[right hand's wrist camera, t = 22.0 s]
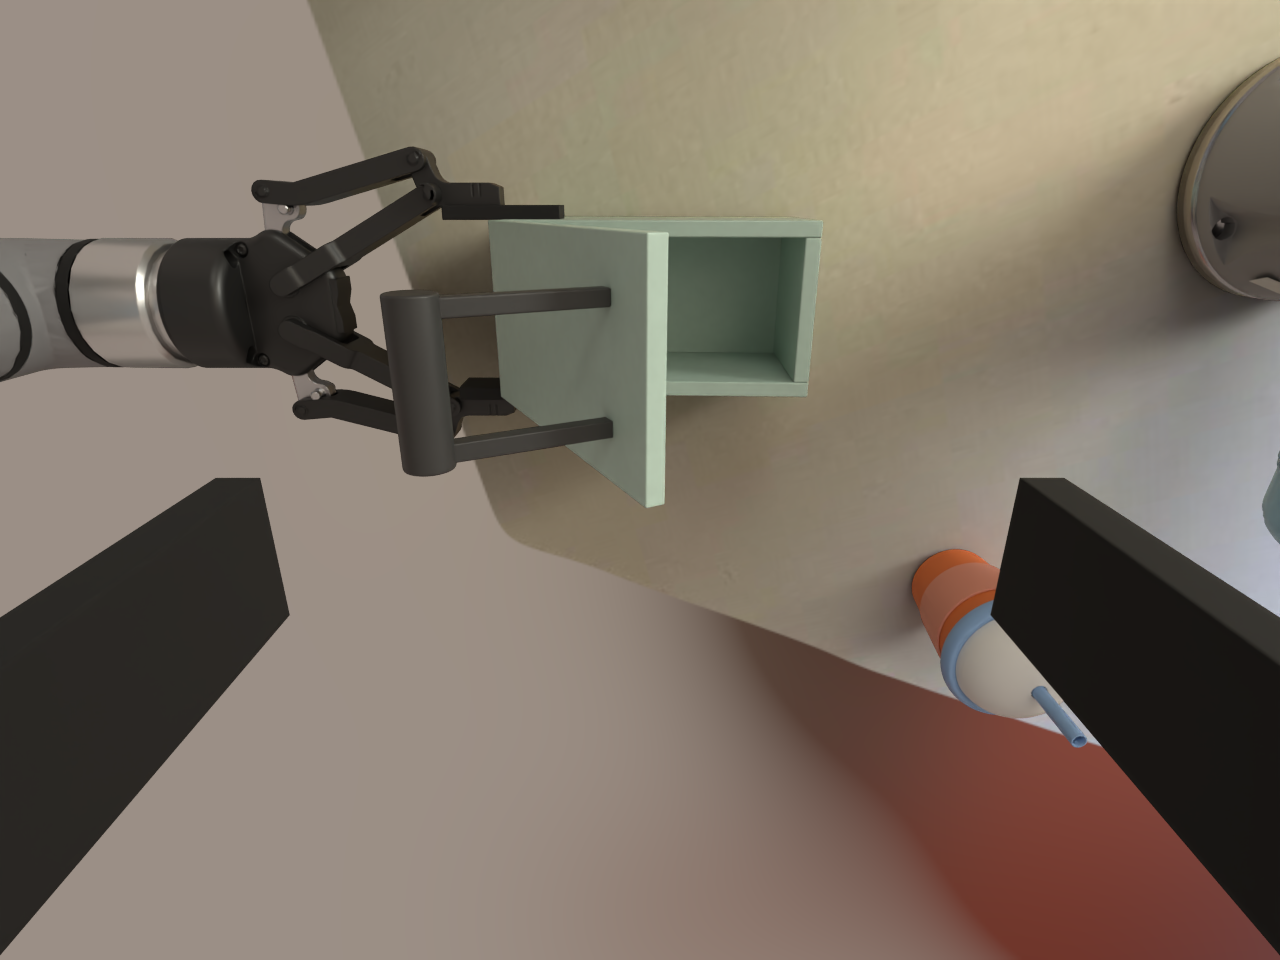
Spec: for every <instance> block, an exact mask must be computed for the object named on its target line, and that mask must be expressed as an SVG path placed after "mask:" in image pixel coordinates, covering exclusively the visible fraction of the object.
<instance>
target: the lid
mask: <svg viewBox="0 0 1280 960" xmlns="http://www.w3.org/2000/svg"><path fill="white" fill-rule="evenodd" d="M488 226H489V240H490V253H491V267H492V280H493V292H484V293H466V294H448V295H439V293H438V292H436V291H431V290H399V291H390V292H385V293H382V294H381V295H380V302H381V309H382V317H383V324H384V332H385V339H386V347H387V354H388V362H389V369H390V377H391V384H392V392H393V399H394V407H395V414H396V422H397V429H398V437H399V445H400V452H401V460H402V467H403V470H404V472H405V473H407V474H409V475H413V476H435V475H440V474H444V473H447V472H449V471H451V470H453V469H454V468H455V467H456V463H457V462H463V461H470V460H476V459H482V458H489V457H495V456H501V455H507V454H514V453H520V452H526V451H533V450H539V449H545V448H551V447H558V446H564V445H565V446H566V447H567V448H569V449H570V450H571V451H572V452H574V453H575V454H576V455H578V456H579V457H580V458H581V459H583V460H584V461H585V462H587V463H588V464H589V465H591V466H592V467H593V468H594V469H596V470H597V471H598V472H600V473H601V474H602V475H603V476H605V477H606V478H607V479H609V480H610V481H611V482H613V483H614V484H615V485H616V486H618V487H619V488H620V489H622V490H623V491H624V492H625V493H627V494H628V495H629V496H631V497H632V498H633V499H635V500H636V501H637V502H638V503H640V504H641V505H642V506H644V507H645V508H649V507H654V506H659V505H663V504H664V495H665V431H666V366H667V302H668V237H669V234H668V233H667V232H659V231H645V230H632V229H618V228H604V227H591V226H577V225H563V224H550V223H536V222H522V221H509V220H488ZM491 315H495V321H496V334H497V348H498V361H499V375H500V388H501V397H503V398H504V399H505V400H506V401H508V402H509V403H510V404H512V405H513V406H514V407H515V408H517V409H518V410H519V411H521V412H522V413H523V414H525V415H526V416H527V417H528V418H530V419H531V420H532V421H534V422H535V423H536V424H537V425H539V426H538V427H531V428H524V429H517V430H510V431H503V432H496V433H489V434H483V435H476V436H469V437H462V438H455V439H454V435H453V425H452V415H451V405H450V396H449V386H448V376H447V366H446V357H445V347H444V337H443V327H442V319H448V318H462V317H477V316H491Z"/></svg>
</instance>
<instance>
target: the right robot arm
mask: <svg viewBox="0 0 1280 960" xmlns="http://www.w3.org/2000/svg"><path fill="white" fill-rule="evenodd" d="M1177 221H1178V229H1179V235H1180V239H1181V242H1182V245H1183V248H1184V250H1185V253H1186V255H1187V257H1188V258H1189V260H1190V262H1191V264H1192V265H1193V266H1194V267H1195V269H1196V270H1197V271H1198V272H1199V273H1200V274H1201V275H1202V276H1203V277H1204V278H1205V279H1206V280H1207V281H1209V282H1210V283H1211V284H1213V285H1214V286H1216V287H1218V288H1220V289H1222V290H1224V291H1226V292H1229V293H1232V294H1236V295H1239V296H1245V297H1251V298H1258V299H1264V300H1274V301H1280V58H1278V59H1277V60H1275V61H1273V62H1271V63H1269V64H1268V65H1266V66H1265V67H1263V68H1262V69H1260V70H1259V71H1257V72H1256V73H1254V74H1253V75H1252V76H1251V77H1249V78H1248V79H1247V80H1245V81H1244V82H1243V83H1242V84H1241V85H1240V86H1239V87H1238V88H1236V89H1235V90H1234V91H1233V92H1232V93H1231V94H1230V95H1229V96H1228V97H1227V99H1226V100H1225V101H1224V102H1223V103H1222V104H1221V105H1220V106H1219V108H1218V109H1217V110H1216V111H1215V113H1214V114H1213V115H1212V117H1211V118H1210V119H1209V121H1208V122H1207V124H1206V125H1205V127H1204V128H1203V130H1202V132H1201V133H1200V135H1199V137H1198V138H1197V140H1196V142H1195V144H1194V146H1193V148H1192V150H1191V153H1190V155H1189V157H1188V160H1187V162H1186V165H1185V168H1184V171H1183V175H1182V178H1181V183H1180V187H1179V194H1178V201H1177ZM1278 457H1279V458H1278V461H1277V470H1276V472H1275V474H1274V476H1273V478H1272V481H1271V483H1270V485H1269V487H1268V490H1267V492H1266V494H1265V496H1264V499H1263V504H1262V508H1263V517H1264V520H1265V525H1266V527H1267V529H1268V530H1269V532H1270V533H1271V534H1272V536H1273V537H1274V538H1275V540H1276V541H1277V542H1278V543H1279V544H1280V452H1279V454H1278ZM990 615H991V616H992V618H993V619H994V620H995V621H996V622H997V623H998V625H999V626H1000V627H1001V628H1002V629H1003V630H1004V632H1005V633H1006V634H1007V635H1008V636H1009V637H1010V639H1011V640H1012V641H1013V642H1014V643H1015V645H1016V646H1017V647H1018V648H1019V649H1020V650H1021V652H1022V653H1023V654H1024V655H1025V656H1026V657H1027V659H1028V660H1029V661H1030V662H1031V663H1032V665H1033V666H1034V667H1035V668H1036V669H1037V670H1038V672H1039V673H1040V674H1041V675H1042V676H1043V677H1044V679H1045V680H1046V681H1047V682H1048V683H1049V684H1050V686H1051V687H1052V688H1053V689H1054V690H1055V692H1056V693H1057V694H1058V695H1059V696H1060V697H1061V699H1062V700H1063V701H1064V702H1065V703H1066V704H1067V706H1068V707H1069V708H1070V709H1071V710H1072V712H1073V713H1074V714H1075V715H1076V716H1077V717H1078V719H1079V720H1080V721H1081V722H1082V723H1083V724H1084V726H1085V727H1086V728H1087V729H1088V730H1089V731H1090V733H1091V734H1092V735H1093V736H1094V737H1095V739H1096V740H1097V741H1098V742H1099V743H1100V744H1101V746H1102V747H1103V748H1104V749H1105V750H1106V751H1107V753H1108V754H1109V755H1110V756H1111V757H1112V758H1113V760H1114V761H1115V762H1116V763H1117V764H1118V766H1119V767H1120V768H1121V769H1122V770H1123V771H1124V773H1125V774H1126V775H1127V776H1128V777H1129V778H1130V780H1131V781H1132V782H1133V783H1134V784H1135V785H1136V787H1137V788H1138V789H1139V790H1140V791H1141V793H1142V794H1143V795H1144V796H1145V797H1146V798H1147V800H1148V801H1149V802H1150V803H1151V804H1152V806H1153V807H1154V808H1155V809H1156V810H1157V811H1158V813H1159V814H1160V815H1161V816H1162V817H1163V818H1164V820H1165V821H1166V822H1167V823H1168V824H1169V825H1170V827H1171V828H1172V829H1173V830H1174V831H1175V833H1176V834H1177V835H1178V836H1179V837H1180V838H1181V840H1182V841H1183V842H1184V843H1185V844H1186V845H1187V847H1188V848H1189V849H1190V850H1191V851H1192V853H1193V854H1194V855H1195V856H1196V857H1197V858H1198V860H1199V861H1200V862H1201V863H1202V864H1203V865H1204V867H1205V868H1206V869H1207V870H1208V871H1209V873H1210V874H1211V875H1212V876H1213V877H1214V878H1215V879H1216V881H1217V882H1218V883H1219V884H1220V885H1221V887H1222V888H1223V889H1224V890H1225V891H1226V892H1227V894H1228V895H1229V896H1230V897H1231V898H1232V900H1233V901H1234V902H1235V903H1236V904H1237V905H1238V907H1239V908H1240V909H1241V910H1242V911H1243V912H1244V914H1245V915H1246V916H1247V917H1248V918H1249V920H1250V921H1251V922H1252V923H1253V924H1254V925H1255V927H1256V928H1257V929H1258V930H1259V931H1260V932H1261V934H1262V935H1263V936H1264V937H1265V938H1266V939H1267V941H1268V942H1269V943H1270V944H1271V945H1272V947H1273V948H1274V949H1275V950H1276V951H1277V952H1278V954H1279V955H1280V617H1278V616H1277V615H1275V614H1273V613H1272V612H1270V611H1269V610H1267V609H1266V608H1264V607H1263V606H1261V605H1260V604H1258V603H1257V602H1255V601H1253V600H1252V599H1250V598H1249V597H1247V596H1246V595H1244V594H1243V593H1241V592H1240V591H1238V590H1236V589H1235V588H1233V587H1232V586H1230V585H1229V584H1227V583H1226V582H1224V581H1223V580H1221V579H1219V578H1218V577H1216V576H1215V575H1213V574H1212V573H1210V572H1209V571H1207V570H1206V569H1204V568H1202V567H1201V566H1199V565H1198V564H1196V563H1195V562H1193V561H1192V560H1190V559H1189V558H1187V557H1185V556H1184V555H1182V554H1181V553H1179V552H1178V551H1176V550H1175V549H1173V548H1172V547H1170V546H1168V545H1167V544H1165V543H1164V542H1162V541H1161V540H1159V539H1158V538H1156V537H1155V536H1153V535H1151V534H1150V533H1148V532H1147V531H1145V530H1144V529H1142V528H1141V527H1139V526H1138V525H1136V524H1135V523H1133V522H1131V521H1130V520H1128V519H1127V518H1125V517H1124V516H1122V515H1121V514H1119V513H1118V512H1116V511H1114V510H1113V509H1111V508H1110V507H1108V506H1107V505H1105V504H1104V503H1102V502H1101V501H1099V500H1097V499H1096V498H1094V497H1093V496H1091V495H1090V494H1088V493H1087V492H1085V491H1084V490H1082V489H1080V488H1079V487H1077V486H1076V485H1074V484H1073V483H1071V482H1070V481H1068V480H1067V479H1065V478H1020V480H1019V485H1018V489H1017V494H1016V498H1015V503H1014V508H1013V512H1012V517H1011V522H1010V526H1009V531H1008V536H1007V540H1006V545H1005V550H1004V554H1003V559H1002V563H1001V568H1000V573H999V577H998V582H997V587H996V591H995V596H994V601H993V605H992V610H991V614H990ZM288 616H289V610H288V605H287V601H286V596H285V591H284V587H283V582H282V577H281V573H280V568H279V563H278V559H277V554H276V550H275V545H274V540H273V536H272V531H271V526H270V522H269V517H268V513H267V508H266V503H265V498H264V494H263V489H262V485H261V480H260V478H215V479H213V480H212V481H210V482H209V483H207V484H206V485H204V486H203V487H201V488H200V489H198V490H197V491H195V492H193V493H192V494H190V495H189V496H187V497H186V498H184V499H183V500H181V501H179V502H178V503H176V504H175V505H173V506H172V507H170V508H169V509H167V510H166V511H164V512H162V513H161V514H159V515H158V516H156V517H155V518H153V519H152V520H150V521H149V522H147V523H146V524H144V525H142V526H141V527H139V528H138V529H136V530H135V531H133V532H132V533H130V534H129V535H127V536H126V537H124V538H122V539H121V540H119V541H118V542H116V543H115V544H113V545H112V546H110V547H109V548H107V549H105V550H104V551H102V552H101V553H99V554H98V555H96V556H95V557H93V558H92V559H90V560H88V561H87V562H85V563H84V564H82V565H81V566H79V567H78V568H76V569H75V570H73V571H71V572H70V573H68V574H67V575H65V576H64V577H62V578H61V579H59V580H57V581H56V582H54V583H53V584H51V585H50V586H48V587H47V588H45V589H44V590H42V591H41V592H39V593H37V594H36V595H34V596H33V597H31V598H30V599H28V600H27V601H25V602H23V603H22V604H20V605H19V606H17V607H16V608H14V609H13V610H11V611H10V612H8V613H7V614H5V615H3V616H2V617H0V955H1V954H2V952H3V951H4V950H5V949H6V948H7V947H8V945H9V944H10V943H11V942H12V941H13V939H14V938H15V937H16V936H17V935H18V934H19V932H20V931H21V930H22V929H23V928H24V927H25V925H26V924H27V923H28V922H29V921H30V920H31V918H32V917H33V916H34V915H35V914H36V912H37V911H38V910H39V909H40V908H41V907H42V905H43V904H44V903H45V902H46V901H47V900H48V898H49V897H50V896H51V895H52V894H53V892H54V891H55V890H56V889H57V888H58V887H59V885H60V884H61V883H62V882H63V881H64V879H65V878H66V877H67V876H68V875H69V874H70V872H71V871H72V870H73V869H74V868H75V867H76V865H77V864H78V863H79V862H80V861H81V860H82V858H83V857H84V856H85V855H86V854H87V853H88V851H89V850H90V849H91V848H92V847H93V845H94V844H95V843H96V842H97V841H98V840H99V838H100V837H101V836H102V835H103V834H104V833H105V831H106V830H107V829H108V828H109V827H110V826H111V824H112V823H113V822H114V821H115V820H116V818H117V817H118V816H119V815H120V814H121V813H122V811H123V810H124V809H125V808H126V807H127V805H128V804H129V803H130V802H131V801H132V800H133V798H134V797H135V796H136V795H137V794H138V793H139V791H140V790H141V789H142V788H143V787H144V786H145V784H146V783H147V782H148V781H149V780H150V778H151V777H152V776H153V775H154V774H155V773H156V771H157V770H158V769H159V768H160V767H161V766H162V764H163V763H164V762H165V761H166V760H167V759H168V757H169V756H170V755H171V754H172V753H173V751H174V750H175V749H176V748H177V747H178V746H179V744H180V743H181V742H182V741H183V740H184V739H185V737H186V736H187V735H188V734H189V733H190V731H191V730H192V729H193V728H194V727H195V726H196V724H197V723H198V722H199V721H200V720H201V719H202V717H203V716H204V715H205V714H206V713H207V712H208V710H209V709H210V708H211V707H212V706H213V704H214V703H215V702H216V701H217V700H218V699H219V697H220V696H221V695H222V694H223V693H224V691H225V690H226V689H227V688H228V687H229V686H230V684H231V683H232V682H233V681H234V680H235V679H236V677H237V676H238V675H239V674H240V673H241V672H242V670H243V669H244V668H245V667H246V666H247V664H248V663H249V662H250V661H251V660H252V659H253V657H254V656H255V655H256V654H257V653H258V652H259V650H260V649H261V648H262V647H263V646H264V645H265V643H266V642H267V641H268V640H269V639H270V637H271V636H272V635H273V634H274V633H275V632H276V630H277V629H278V628H279V627H280V626H281V625H282V623H283V622H284V621H285V620H286V619H287V617H288Z"/></svg>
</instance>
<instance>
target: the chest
mask: <svg viewBox="0 0 1280 960" xmlns="http://www.w3.org/2000/svg"><path fill="white" fill-rule="evenodd" d="M502 220H509V221H522V222H536V223H550V224H563V225H577V226H591V227H604V228H618V229H632V230H645V231H659V232H667V233H668V234H669V237H668V302H667V366H666V395H668V396H751V397H807V393H808V381H809V370H810V359H811V349H812V338H813V327H814V316H815V305H816V294H817V284H818V273H819V262H820V251H821V240H822V239H821V237H822V230H823V221H821V220H813V219H805V218H797V217H564V218H563V219H502Z"/></svg>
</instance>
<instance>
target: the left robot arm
mask: <svg viewBox="0 0 1280 960" xmlns="http://www.w3.org/2000/svg"><path fill="white" fill-rule="evenodd" d="M409 178H413V180H414V183H415V185H416V187H417V188H415V189H414V190H412V191H411V192H409V193H408V194H406V195H404V196H403V197H401V198H400V199H398V200H396V201H395V202H393V203H392V204H390V205H389V206H387V207H385V208H384V209H382V210H381V211H379V212H378V213H376V214H374V215H373V216H371V217H370V218H368V219H367V220H365V221H363V222H362V223H360V224H359V225H357V226H356V227H354V228H352V229H351V230H349V231H348V232H346V233H345V234H343V235H341V236H340V237H338V238H337V239H335V240H333V241H332V242H329V243H327V244H325V245H323V246H321V247H320V248H318V249H316V248H314V247H313V246H311V245H310V244H308V243H307V242H305V241H304V240H302V239H301V238H299V237H298V236H296V235H295V234H293V233H292V232H290V225H291V223H292V222H293V221H295V220H299V219H302V218H304V216H305V215H306V206H309V205H321V204H326V203H329V202H333V201H336V200H339V199H343V198H346V197H349V196H353V195H356V194H359V193H362V192H366V191H369V190H372V189H376V188H379V187H382V186H386V185H389V184H392V183H396V182H399V181H402V180H406V179H409ZM251 191H252V194H253V196H254V198H255V199H256V200H257V201H259V202H261V203H262V205H263V215H264V225H265V231H262V232H261V233H259V234H258V235H256V236H254V237H252V238H185V239H181V240H179V241H177V240H175V239H172V238H101V239H87V240H71V239H32V238H0V382H2V381H5V380H9V379H12V378H16V377H20V376H24V375H27V374H31V373H34V372H38V371H42V370H48V369H55V368H77V367H135V368H190V367H196V366H201V367H205V368H274V369H278V370H280V371H282V372H284V373H286V374H288V375H292V378H293V382H294V385H295V389H296V393H297V396H298V400H299V401H297V402H296V403H295V404H294V405H293V413H294V415H295V416H296V417H297V418H299V419H303V420H307V419H318V418H331V417H332V418H336V419H340V420H344V421H348V422H352V423H356V424H360V425H364V426H368V427H372V428H376V429H380V430H384V431H388V432H392V433H396V434H398V429H397V422H396V414H395V407H394V401H392V400H388V399H384V398H380V397H376V396H372V395H368V394H364V393H360V392H356V391H351V390H343V389H338V390H336V389H335V385H334V384H333V383H331V382H329V381H325V380H321V379H319V378H318V377H317V376H316V375H315V373H314V370H315V369H316V368H317V367H318V366H319V365H321V364H322V363H323V362H324V361H326V360H329V361H331V362H333V363H335V364H337V365H339V366H341V367H343V368H347V369H353V370H356V371H357V372H359V373H361V374H363V375H365V376H368V377H369V378H371V379H374V380H375V381H377V382H379V383H381V384H383V385H385V386H387V387H389V388H391V389H392V384H391V377H390V369H389V362H388V354H387V351H386V350H384V349H382V348H380V347H378V346H376V345H375V344H373V342H372V341H371V340H370V339H368V338H366V337H365V336H363V335H361V334H359V333H357V332H355V331H354V329H355V328H357V324H356V317H355V313H354V311H353V309H352V306H351V304H350V297H351V283H350V277H349V276H346V275H345V273H344V271H343V270H344V269H346V268H348V267H349V266H351V265H352V264H354V263H356V262H357V261H359V260H360V259H361V258H362V257H363V256H365V255H366V254H368V253H370V252H371V251H373V250H374V249H376V248H377V247H379V246H381V245H382V244H384V243H385V242H387V241H389V240H390V239H392V238H394V237H395V236H397V235H398V234H400V233H402V232H403V231H405V230H406V229H408V228H410V227H411V226H413V225H414V224H416V223H418V222H419V221H421V220H422V219H424V218H426V217H427V216H429V215H430V214H432V213H434V212H435V211H437V210H438V209H440V208H442V218H443V220H502V219H563V218H564V205H505V203H504V188H503V187H502V186H499V185H497V184H494V183H449V182H447V181H446V180H444V179H443V178H442V176H441V175H440V173H439V170H438V168H437V166H436V158H435V156H434V155H433V154H432V153H431V152H430V151H428V150H425V149H421V148H417V147H407V148H404V149H400V150H397V151H394V152H391V153H387V154H384V155H381V156H378V157H374V158H371V159H368V160H365V161H361V162H358V163H355V164H352V165H348V166H345V167H342V168H339V169H335V170H332V171H329V172H325V173H322V174H319V175H316V176H312V177H309V178H306V179H303V180H299V181H296V182H286V181H271V180H257V181H255V182H254V183H253V185H252V189H251ZM448 386H449V396H450V405H451V415H452V425H453V435H454V437H455V436H456V435H457V434H458V432H459V431H460V430H461V427H462V424H461V423H462V420H463V417H464V416H468V415H509V414H511V413H514V412H515V410H516V408H515V407H514V406H513V405H512V404H510V403H509V402H508V401H506V400H505V399H504V398H503V397H501V388H500V378H468V379H467V380H466V381H465V382H464V383H463V384H462V385H461V386H460V388H459V387H457V386H455V385H453V384H451V383H449V382H448Z"/></svg>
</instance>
